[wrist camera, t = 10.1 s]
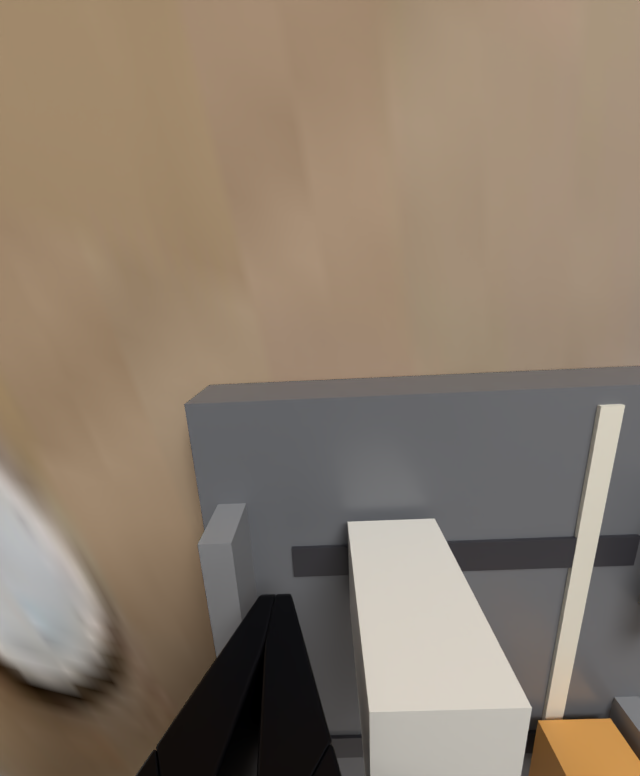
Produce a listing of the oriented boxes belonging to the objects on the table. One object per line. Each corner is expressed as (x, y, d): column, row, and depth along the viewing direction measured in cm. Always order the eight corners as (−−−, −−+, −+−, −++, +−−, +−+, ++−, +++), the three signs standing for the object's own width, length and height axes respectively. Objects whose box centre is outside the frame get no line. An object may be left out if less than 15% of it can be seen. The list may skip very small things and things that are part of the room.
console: (593, 757, 15) (675, 895, 12) (261, 765, 15) (243, 903, 12) (689, 363, 10) (874, 396, 7) (209, 384, 11) (154, 427, 7)
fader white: (430, 605, 10) (510, 833, 6) (350, 607, 10) (371, 836, 6) (434, 518, 9) (531, 707, 5) (347, 521, 9) (368, 712, 5)
